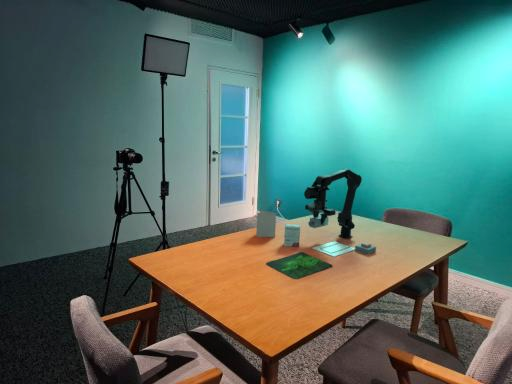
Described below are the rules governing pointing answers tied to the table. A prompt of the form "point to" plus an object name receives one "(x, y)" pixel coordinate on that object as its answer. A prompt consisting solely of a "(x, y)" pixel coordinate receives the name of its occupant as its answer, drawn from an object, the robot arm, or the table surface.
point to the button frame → (365, 249)
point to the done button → (366, 244)
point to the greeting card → (266, 224)
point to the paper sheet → (334, 248)
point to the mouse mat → (298, 265)
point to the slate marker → (317, 222)
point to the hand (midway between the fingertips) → (318, 223)
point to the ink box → (292, 235)
